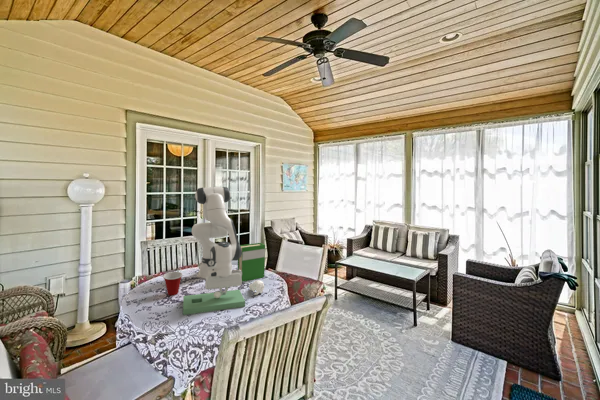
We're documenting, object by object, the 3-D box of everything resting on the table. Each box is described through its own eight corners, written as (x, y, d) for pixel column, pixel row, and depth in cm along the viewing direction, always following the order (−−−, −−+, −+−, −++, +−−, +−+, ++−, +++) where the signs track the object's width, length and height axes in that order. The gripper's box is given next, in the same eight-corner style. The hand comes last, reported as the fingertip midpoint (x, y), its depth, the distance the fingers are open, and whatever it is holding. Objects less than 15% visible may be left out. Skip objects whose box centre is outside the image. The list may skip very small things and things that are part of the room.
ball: (221, 294, 167) (215, 298, 165) (218, 288, 166) (212, 292, 164) (222, 297, 163) (216, 301, 162) (219, 291, 162) (213, 295, 161)
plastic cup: (160, 297, 169) (160, 277, 168) (165, 290, 180) (165, 272, 179) (180, 296, 171) (180, 277, 170) (184, 290, 182) (184, 271, 181)
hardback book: (242, 281, 199) (242, 247, 197) (237, 278, 205) (237, 245, 203) (264, 277, 210) (264, 244, 208) (259, 274, 216) (259, 242, 214)
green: (183, 301, 166) (183, 296, 165) (239, 294, 178) (239, 289, 177) (183, 314, 149) (183, 309, 149) (245, 306, 161) (245, 301, 161)
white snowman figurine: (256, 282, 174) (245, 278, 183) (257, 296, 174) (246, 292, 183) (265, 280, 179) (254, 276, 187) (265, 293, 179) (254, 290, 187)
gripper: (241, 267, 171) (240, 290, 172) (204, 270, 163) (204, 294, 164) (243, 270, 165) (242, 294, 166) (205, 274, 157) (205, 299, 158)
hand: (223, 294), depth 165 cm, fingers closed
